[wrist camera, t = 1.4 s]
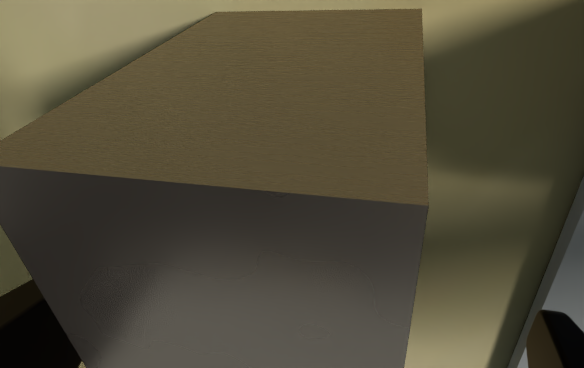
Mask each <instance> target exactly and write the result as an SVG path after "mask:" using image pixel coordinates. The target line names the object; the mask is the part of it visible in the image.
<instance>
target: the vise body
mask: <svg viewBox="0 0 584 368" xmlns="http://www.w3.org/2000/svg"><path fill="white" fill-rule="evenodd" d="M543 309H544V310H551V311H558V312H563V313H565V314H567V315H568V316H569V317H570V318H571V319H572V320H573V321H574V322H575V323H576V324H577V325H578V327H579V328H580V329H581V330H582V331H583V332H584V176H583V179H582V181H581V184H580V186H579V189H578V191H577V194H576V196H575V199H574V201H573V204H572V206H571V209H570V212H569V214H568V217H567V219H566V222H565V224H564V227H563V229H562V232H561V234H560V237H559V239H558V242H557V244H556V247H555V249H554V252H553V254H552V257H551V259H550V262H549V264H548V267H547V269H546V272H545V274H544V277H543V279H542V282H541V284H540V287H539V290H538V292H537V295H536V297H535V300H534V302H533V305H532V307H531V310H530V312H529V315H528V317H527V320H526V322H525V325H524V327H523V330H522V332H521V335H520V337H519V340H518V342H517V345H516V347H515V350H514V352H513V355H512V357H511V360H510V362H509V365H508V368H528V360H527V351H526V340H527V336H528V333H529V331H530V328H531V326H532V324H533V321H534V319H535V316H536V314H537V312H538V311H539V310H543Z"/></svg>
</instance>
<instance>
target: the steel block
mask: <svg viewBox="0 0 584 368" xmlns="http://www.w3.org/2000/svg"><path fill="white" fill-rule="evenodd" d="M428 206H429V203H428V173H427V144H426V115H425V85H424V56H423V27H422V9H375V10H308V11H241V12H215V13H213V14H212V15H210V16H208V17H207V18H205V19H203V20H202V21H200V22H198V23H197V24H195V25H193V26H192V27H190V28H188V29H187V30H185V31H183V32H182V33H180V34H178V35H177V36H175V37H173V38H172V39H170V40H168V41H167V42H165V43H163V44H162V45H160V46H158V47H157V48H155V49H153V50H152V51H150V52H148V53H146V54H145V55H143V56H141V57H140V58H138V59H136V60H135V61H133V62H131V63H130V64H128V65H126V66H125V67H123V68H121V69H120V70H118V71H116V72H115V73H113V74H111V75H110V76H108V77H106V78H105V79H103V80H101V81H100V82H98V83H96V84H95V85H93V86H91V87H90V88H88V89H86V90H85V91H83V92H81V93H80V94H78V95H76V96H74V97H73V98H71V99H69V100H68V101H66V102H64V103H63V104H61V105H59V106H58V107H56V108H54V109H53V110H51V111H49V112H48V113H46V114H44V115H43V116H41V117H39V118H38V119H36V120H34V121H33V122H31V123H29V124H28V125H26V126H24V127H23V128H21V129H19V130H18V131H16V132H14V133H13V134H11V135H9V136H7V137H6V138H4V139H2V140H1V141H0V225H1V226H2V228H3V230H4V231H5V233H6V235H7V236H8V238H9V240H10V241H11V243H12V245H13V246H14V248H15V250H16V251H17V253H18V255H19V256H20V258H21V260H22V261H23V263H24V265H25V266H26V268H27V270H28V271H29V273H30V275H31V276H32V278H33V280H34V281H35V283H36V285H37V286H38V288H39V290H40V291H41V293H42V295H43V296H44V298H45V300H46V301H47V303H48V305H49V306H50V308H51V310H52V311H53V313H54V315H55V316H56V318H57V320H58V321H59V323H60V325H61V326H62V328H63V330H64V331H65V333H66V335H67V336H68V338H69V340H70V341H71V343H72V345H73V346H74V348H75V350H76V351H77V353H78V355H79V356H80V358H81V360H82V361H83V363H84V365H85V366H86V368H404V364H405V358H406V351H407V345H408V338H409V331H410V325H411V318H412V312H413V305H414V299H415V292H416V285H417V279H418V272H419V266H420V259H421V252H422V246H423V239H424V233H425V226H426V220H427V213H428Z"/></svg>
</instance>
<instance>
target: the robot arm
mask: <svg viewBox="0 0 584 368" xmlns="http://www.w3.org/2000/svg"><path fill="white" fill-rule="evenodd" d="M526 351H527V360H528V368H584V332H583V331H582V330H581V329H580V328H579V327H578V325H577V324H576V323H575V322H574V321H573V320H572V319H571V318H570V317H569V316H568V315H567V314H565V313H563V312H558V311H551V310H544V309H543V310H539V311H538V312H537V314H536V316H535V319H534V321H533V324H532V326H531V328H530V331H529V333H528V336H527V340H526ZM81 362H82V360H81V358H80V356H79V355H78V353H77V351H76V350H75V348H74V346H73V345H72V343H71V341H70V340H69V338H68V336H67V335H66V333H65V331H64V330H63V328H62V326H61V325H60V323H59V321H58V320H57V318H56V316H55V315H54V313H53V311H52V310H51V308H50V306H49V305H48V303H47V301H46V300H45V298H44V296H43V295H42V293H41V291H40V290H39V288H38V286H37V285H36V283H35V281H34V280H33V279H32V280H30V281H28V282H27V283H25V284H23V285H21V286H19V287H17V288H16V289H14V290H12V291H10V292H8V293H6V294H4V295H3V296H1V297H0V368H78V367H79V365H80V363H81Z"/></svg>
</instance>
